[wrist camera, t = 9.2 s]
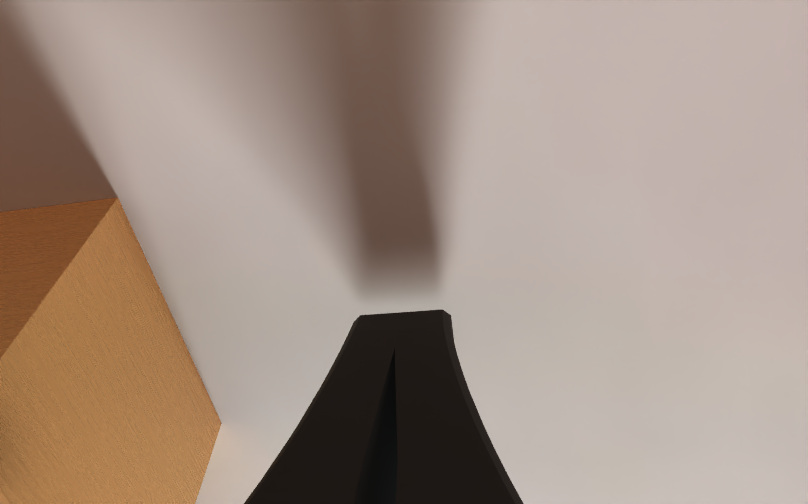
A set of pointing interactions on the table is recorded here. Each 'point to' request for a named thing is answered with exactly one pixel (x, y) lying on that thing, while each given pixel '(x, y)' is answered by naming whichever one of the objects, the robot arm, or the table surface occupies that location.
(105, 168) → the table surface
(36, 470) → the block
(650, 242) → the table surface
